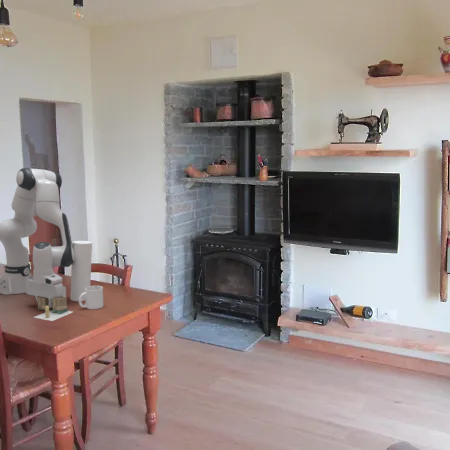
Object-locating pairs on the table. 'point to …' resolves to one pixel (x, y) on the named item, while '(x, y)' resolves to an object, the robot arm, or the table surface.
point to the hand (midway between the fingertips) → (44, 305)
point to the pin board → (51, 315)
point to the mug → (92, 297)
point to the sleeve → (43, 303)
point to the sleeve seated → (59, 305)
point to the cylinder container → (81, 269)
